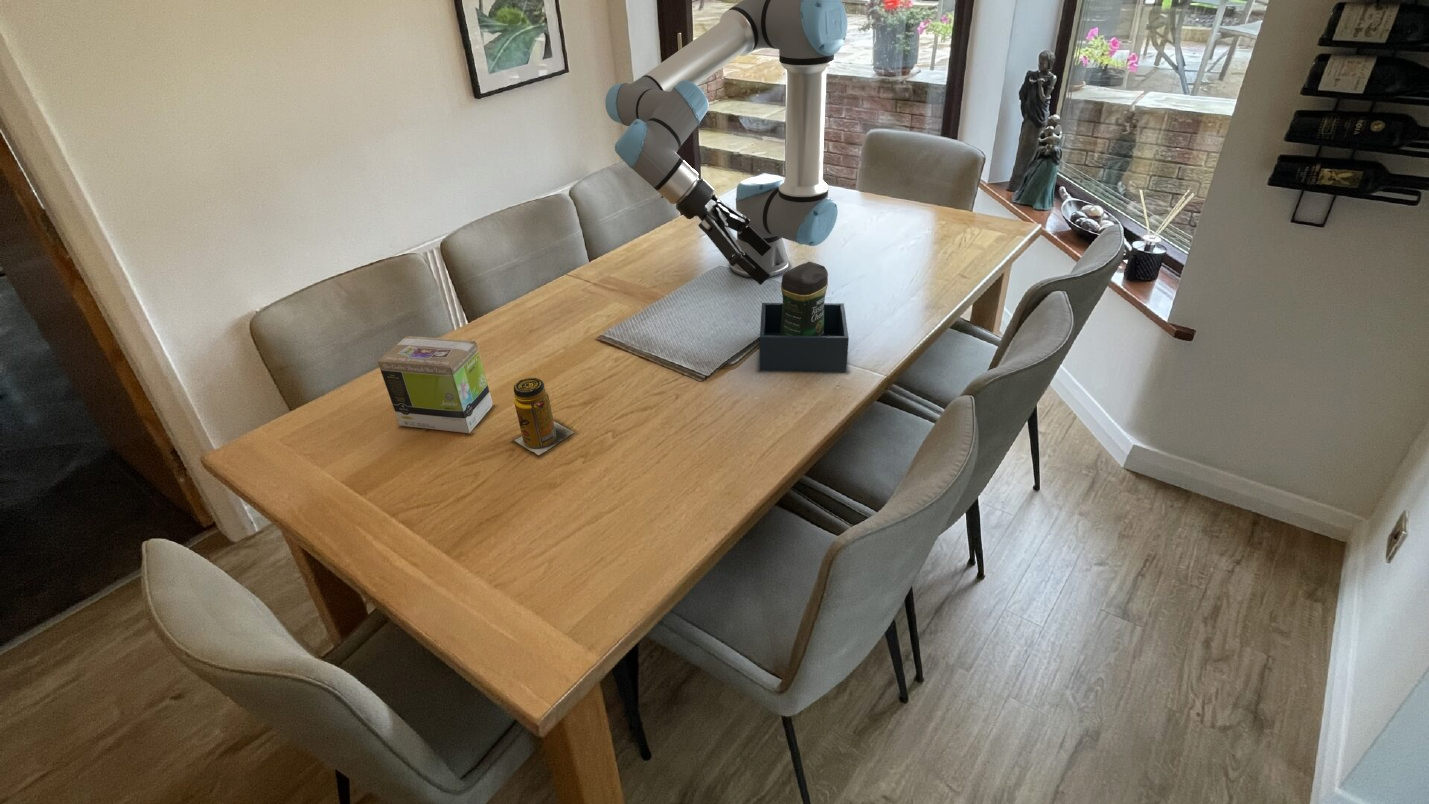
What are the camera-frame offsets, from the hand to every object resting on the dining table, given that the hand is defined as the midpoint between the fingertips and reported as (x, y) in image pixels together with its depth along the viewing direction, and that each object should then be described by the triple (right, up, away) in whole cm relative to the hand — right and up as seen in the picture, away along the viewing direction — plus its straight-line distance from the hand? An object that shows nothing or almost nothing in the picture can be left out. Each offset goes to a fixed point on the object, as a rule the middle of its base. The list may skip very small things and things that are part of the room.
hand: (766, 265), depth 145 cm
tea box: (-62, -30, -4) cm, 69 cm away
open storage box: (+8, -17, +11) cm, 22 cm away
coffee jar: (+8, -16, +10) cm, 21 cm away
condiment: (-42, -34, -11) cm, 55 cm away
